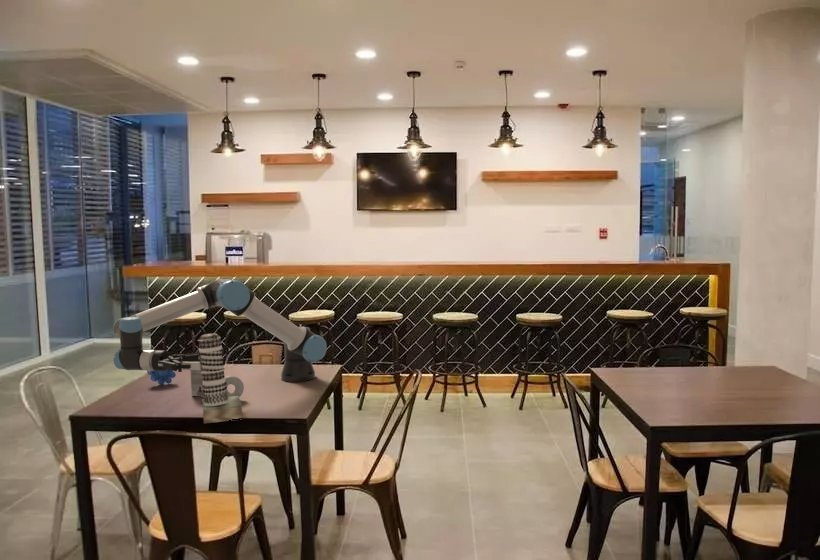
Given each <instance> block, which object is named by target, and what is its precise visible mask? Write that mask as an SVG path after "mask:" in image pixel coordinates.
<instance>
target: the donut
mask: <svg viewBox="0 0 820 560" xmlns="http://www.w3.org/2000/svg"><path fill="white" fill-rule="evenodd" d="M225 382H226V383H227V384H226V385H225V386H226V387H227V389H226V391H227V392H228V394H227V396H228V397H232V396H239V398H240V397H241V396H243V393H244V389H245V386H244V382H243V380H242V379H241V378H239V377H237V376H236V375H228V376H225ZM230 385H233V386H234V387H235V389H234V390H233V391H229V390H228V386H230Z"/></svg>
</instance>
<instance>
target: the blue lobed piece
mask: <svg viewBox="0 0 820 560" xmlns="http://www.w3.org/2000/svg"><path fill="white" fill-rule="evenodd" d="M146 374H147V375H149V376H150V380H151V381H152V382H157V384H158V385H161V386H163V385H164V384H165V383H166V384H171V383H172V382H173V380H172V379H174V378H175V377H176V371H172V370H168V369H167V370H166V371H155V370H154V371H152V370H151V372H148V370H146Z"/></svg>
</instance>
